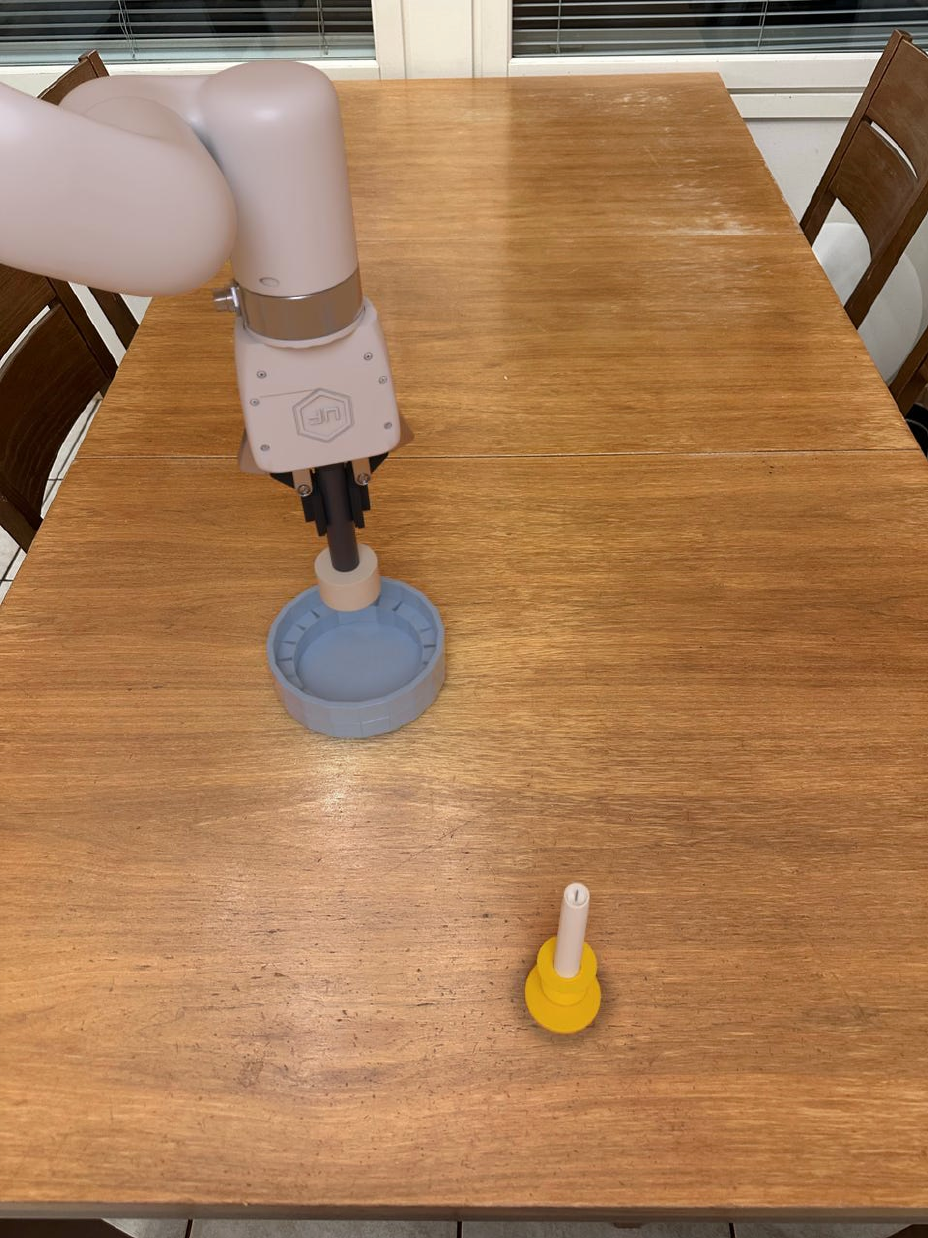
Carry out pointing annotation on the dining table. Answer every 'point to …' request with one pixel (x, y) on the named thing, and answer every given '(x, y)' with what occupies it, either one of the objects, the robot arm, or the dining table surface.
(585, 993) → the candle
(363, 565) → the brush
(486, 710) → the dining table surface
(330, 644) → the bowl
